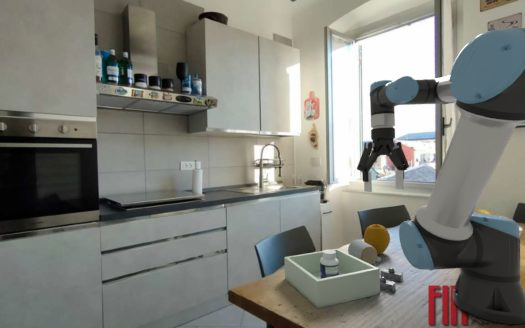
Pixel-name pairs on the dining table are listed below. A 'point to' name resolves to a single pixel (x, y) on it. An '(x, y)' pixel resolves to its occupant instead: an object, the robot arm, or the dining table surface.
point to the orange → (377, 237)
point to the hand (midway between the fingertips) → (384, 190)
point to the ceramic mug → (363, 251)
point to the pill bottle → (329, 264)
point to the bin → (332, 278)
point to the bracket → (389, 275)
